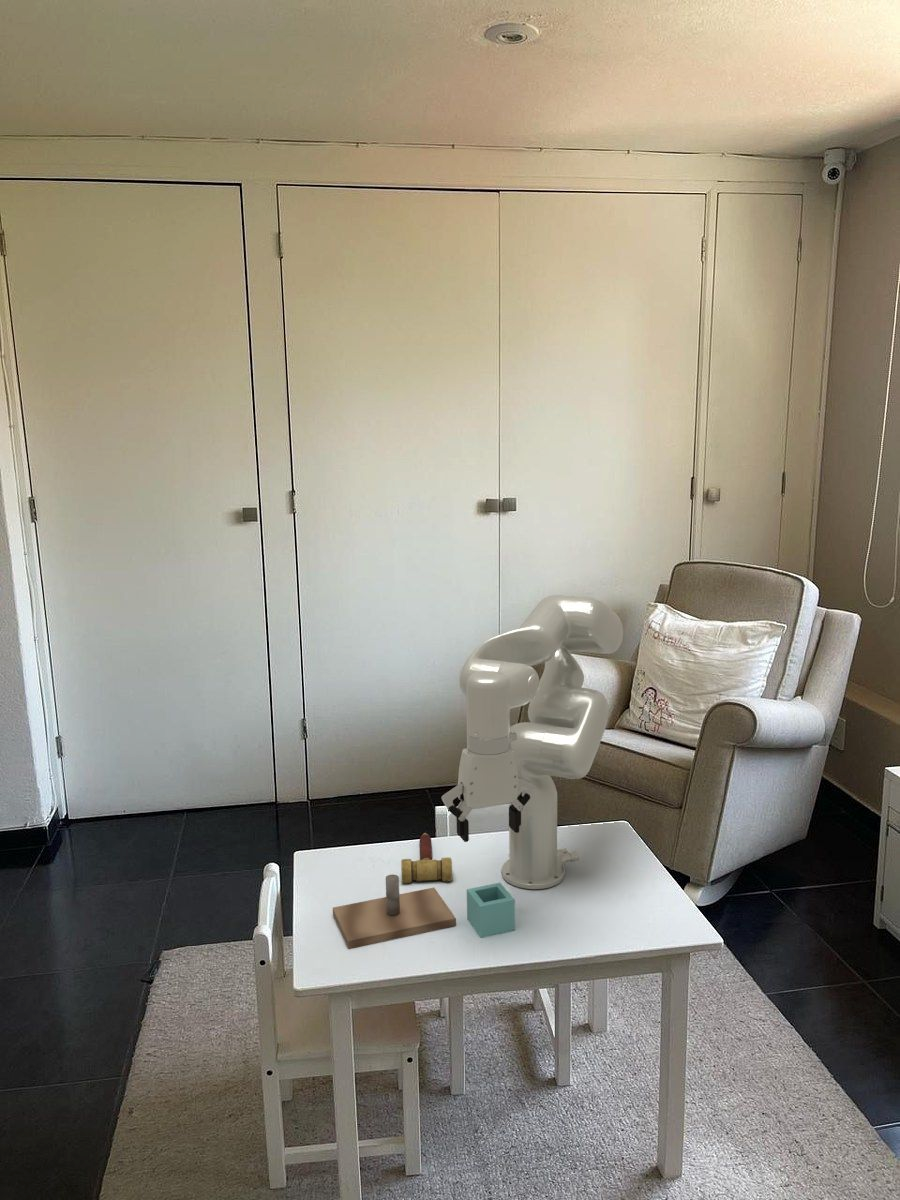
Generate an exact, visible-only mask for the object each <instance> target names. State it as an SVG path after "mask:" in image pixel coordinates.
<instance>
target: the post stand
mask: <svg viewBox="0 0 900 1200" xmlns="http://www.w3.org/2000/svg"><path fill="white" fill-rule="evenodd" d="M385 891H386V892H385V896H384V897H379V898H375V899H369V900H364V901H360V902H355V903H350V904H349V903H348V904H343V905H340V906H339V905H338V906H334V907H332V916H333V918H334V920H335V923H336V925H337V927H338V929H339V931H340V934H341V936H342V938H343V940H344V942H345V945H346V947H347V949H354V948H359V947H363V946H368V945H373V944H377V943H381V942H387V941H391V940H395V939H400V938H405V937H410V936H414V935H420V934H424V933H428V932H434V931H437V930H442V929H447V928H451V927H456V926H457V918H456V916H455V915H454V914H453V912H452V910H451V909H450V908H449V906H448V905H447V903H446V902H445V901H444V899H443V898H442V896H441V895H440V894H439V892H438V891H437V889H436V888H435V887H429V888H424V889H420V890H415V891H410V892H404V893H400V877H399V876H398V875H397V874H388V875H386V876H385Z"/></svg>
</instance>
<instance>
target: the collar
mask: <svg viewBox="0 0 900 1200" xmlns="http://www.w3.org/2000/svg"><path fill="white" fill-rule="evenodd" d="M515 903H516V902H515V898H514V897H513V896H512V895H511V893H510V892H509V891H508V890H507V889H506V887H505V886H504V885H503V884H502V883H501V882H497V883H491V884H486V885H481V886H476V887H471V888H468V889H466V917H467V921H468V923H470V925H471V927H472V928H473V930H475V932H476V933H477V934H478V936H479V938H481V939H482V938H485V937H490V936H494V935H498V934H500V935H501V934H504V933H508V932H513V931H515V930H516V922H515V921H516V920H515V919H516V918H515V917H516V916H515V915H516V913H515V911H516V909H515V908H516V905H515Z"/></svg>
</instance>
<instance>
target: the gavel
mask: <svg viewBox="0 0 900 1200" xmlns="http://www.w3.org/2000/svg"><path fill="white" fill-rule="evenodd" d="M432 845H433V844H432V837H431V836H430V835H429V834H428V833H426V832H424V833H423V834H422V835H421V836H420V838H419V860H414V861H412V858H402V859H401V862H400V863H401V864H400V865H401V866H400V867H401V868H400V869H401V882H402V884H410V883H412V882H413V881H416V882H425V881H438V880H441V881H442V882H452V881H453V860H452V858H451V857H441V859H440V860H439V859H438V860H437V859H433V848H432V847H433V846H432Z"/></svg>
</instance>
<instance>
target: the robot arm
mask: <svg viewBox="0 0 900 1200" xmlns="http://www.w3.org/2000/svg"><path fill="white" fill-rule="evenodd" d="M623 629H624V626H623V623H622V620H621V618H620V617H619V615H617V614H616V612H614V610H612V609H611V608H610V607H609V606H608V605H607V604H606V603H605V602H602V600H600V599H596V598H593V597H588V596H587V597H586V596H574V595H573V596H572V595H561V594H557V595H555V594H554V595H549V596H546V597H544V598H543V599H541V600H540V601H539V602H538V603H537V605H536V606H535V607H534V608H533V610H532V611H531V612H530V614H529V615H528V616H527V618H526V619H525V620H524V621H523V622H522V624H521V625H520V626H519V627H518V628H514V629H510V630H509V631H506V632H504V633H501V634H499V635H498V634H497V635H496V636H493V637H491V638H489V639H487V640H485V641H483V642H482V643H480V644H479V645H478V646H477V647H476V648H475V649H474V650H473V651H472V652H471V654H470V655H469V656H468V658H467V659H466V660H465V662H464V663H463V666H462V667H461V671H460V674H459V680H458V682H459V688H460V689H461V692H462V693H463V694H464V696H465V697H466V698H465V699H466V748H463V749H462V751H461V755H460V756H461V757H460V761H459V768H458V777H457V779H458V780H457V785H455V787H453V788H451V789H450V790H449V791H447V792H445V793H444V794H443V795H442V796H441V801H442V802H443V804H444V806H445V807H446V809H447V810H448V811H449V813H451V814H452V815H453V816H454V817H456V819H455V820H456V833H457V835H458V837H460V838H461V839H462V841H463V843H467V842H469V839H470V837H469V836H470V829H469V827H470V825H469V820H468V819H467V818H468V816H469V814H470V813H471V812H472V811H473V810H476V809H478V810H479V809H484V808H490V807H496V806H501V805H507V804H508V838H509V839H508V852H509V853H508V854H509V855H508V857H509V859H508V860H506V861H505V862H504V863H503V864H502V866H501V876H502V878H503V879H504V881H506V882H507V883H508V884H511V885H512V886H514V887H516V888H522V889H527V890H542V889H548V888H553V887H554V886H556V885H559V884H560V883H561V882H562V881H563V880H564V878H565V874H566V872H565V867H564V865H566V863H572V862H573V863H574V862H579V861H580V854H579V851H577V850H575V851H569V852H568V849H567V848H560V849H558V791H557V788H556V785H555V782H554V779H552V777H557V778H563V779H570V780H579V779H583V778H585V777H586V776H587V774H588V773H589V772H590V770H591V767H592V765H593V763H594V761H595V757H596V755H597V752H598V749H599V747H600V744H601V741H602V739H603V736H604V733H605V731H606V726H607V724H608V719H609V704H608V700H607V698H606V697H605V695H604V693H602V692H601V691H600V690H599V691H598V690H596V689H593V688H586V687H583V685H584V681H585V675H584V672H583V670H582V669H583V668H582V667H581V665H580V663H579V662H578V661H577V660H576V658H575V657H574V656H573V655H572V653H571V651H574V652H575V651H576V652H581V653H583V652H584V653H593V654H602V655H604V654H605V655H610V654H613V653H615V652H617V651H618V649H619V648H620V646H621V644H622V642H623V637H624V630H623ZM541 664H544V669H543V673H542V675H541V677H539V674H538V672H537V670H535V668H533V666H537V665H541ZM527 704H529V705H528V708H527V709H528V710H527V716H528V720H529V721H527V722H525V721H524V722H518V723H516V724H513V725H512V726H511V715H510V714H511V711H510V710H511V709H514V708H518V707H523V706H525V705H527ZM456 798H458V800H459V801H460V802H459V803H458V805H457V806H455V804H454V803H453V802H454V800H455V799H456Z"/></svg>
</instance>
